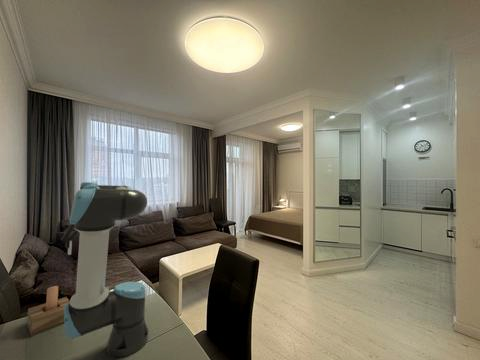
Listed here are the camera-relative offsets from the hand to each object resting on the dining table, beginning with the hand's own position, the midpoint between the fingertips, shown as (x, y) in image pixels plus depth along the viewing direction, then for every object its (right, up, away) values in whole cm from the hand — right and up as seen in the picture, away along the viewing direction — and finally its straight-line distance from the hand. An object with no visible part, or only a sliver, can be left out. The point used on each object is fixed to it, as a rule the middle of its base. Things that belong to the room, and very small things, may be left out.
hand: (85, 251), depth 104 cm
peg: (-10, -30, -8) cm, 33 cm away
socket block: (-11, -31, -9) cm, 34 cm away
